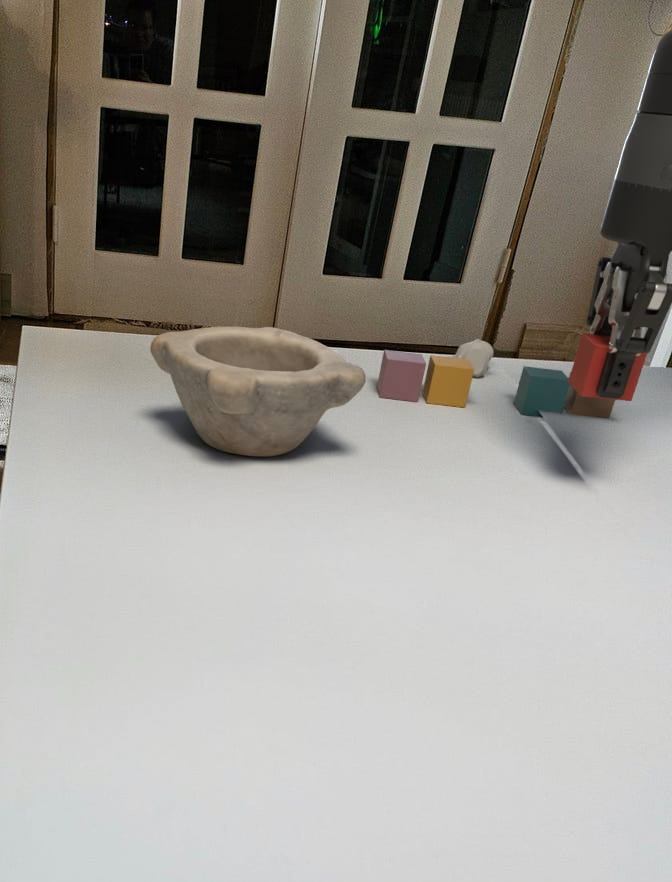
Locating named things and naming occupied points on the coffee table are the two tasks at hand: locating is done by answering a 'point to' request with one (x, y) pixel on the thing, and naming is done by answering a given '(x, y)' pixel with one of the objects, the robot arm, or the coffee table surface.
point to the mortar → (255, 385)
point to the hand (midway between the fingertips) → (600, 387)
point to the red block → (599, 367)
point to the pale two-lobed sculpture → (476, 355)
